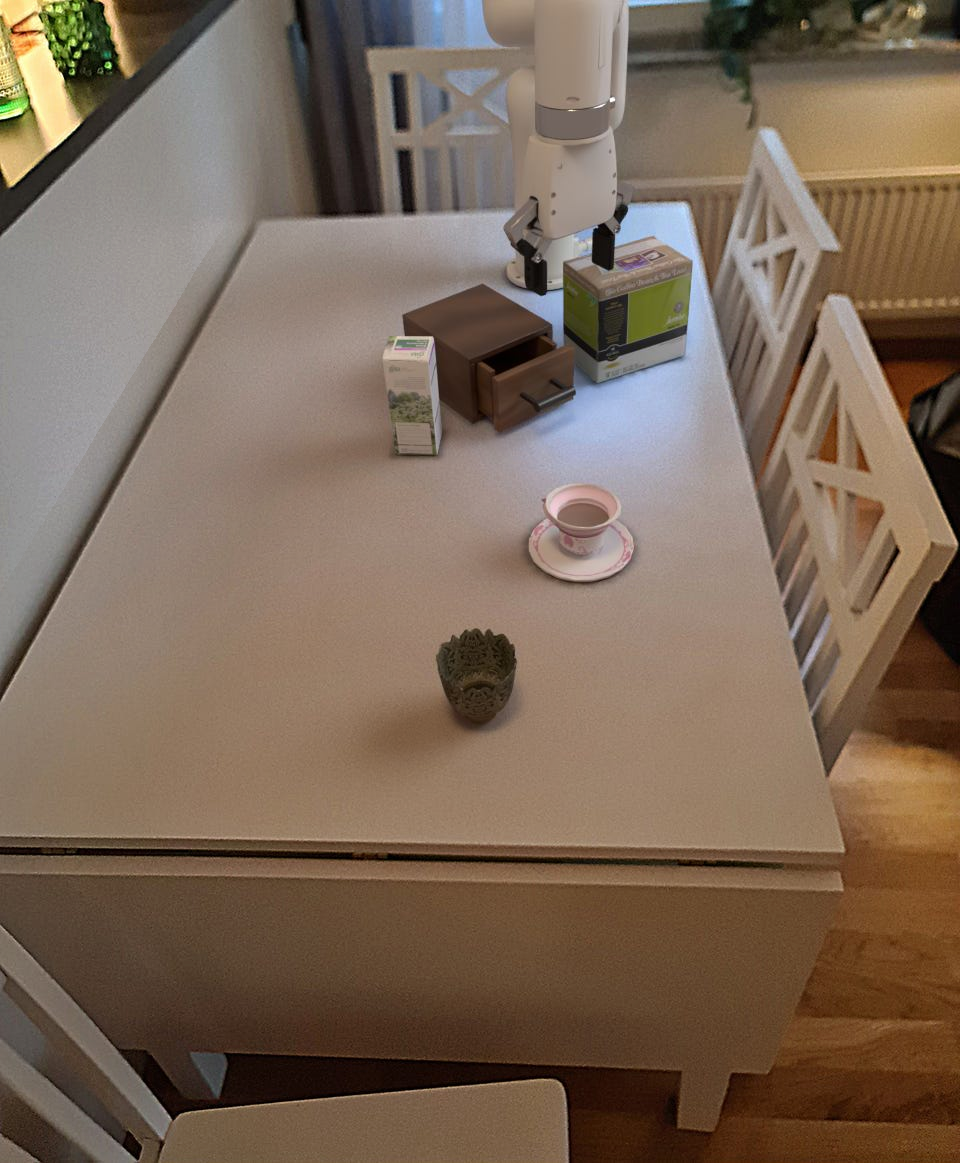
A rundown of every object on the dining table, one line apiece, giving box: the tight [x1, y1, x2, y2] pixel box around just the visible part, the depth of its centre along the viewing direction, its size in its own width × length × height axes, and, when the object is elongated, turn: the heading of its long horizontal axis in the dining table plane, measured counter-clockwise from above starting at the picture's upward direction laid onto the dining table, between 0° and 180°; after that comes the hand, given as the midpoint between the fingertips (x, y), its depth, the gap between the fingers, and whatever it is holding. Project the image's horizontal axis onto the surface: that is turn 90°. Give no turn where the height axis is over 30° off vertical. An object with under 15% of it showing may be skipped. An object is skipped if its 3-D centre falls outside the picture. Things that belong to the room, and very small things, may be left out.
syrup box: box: [381, 335, 443, 456], centre depth 120 cm, size 6×6×14 cm
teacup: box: [528, 482, 635, 583], centre depth 106 cm, size 12×12×6 cm
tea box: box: [562, 235, 694, 384], centre depth 133 cm, size 15×10×15 cm
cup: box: [435, 627, 518, 724], centre depth 89 cm, size 8×7×8 cm
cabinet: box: [401, 283, 554, 424], centre depth 132 cm, size 16×14×10 cm
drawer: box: [474, 335, 577, 434], centre depth 127 cm, size 19×13×8 cm, turn 36°
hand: (569, 278), depth 108 cm, fingers open, 9 cm apart
